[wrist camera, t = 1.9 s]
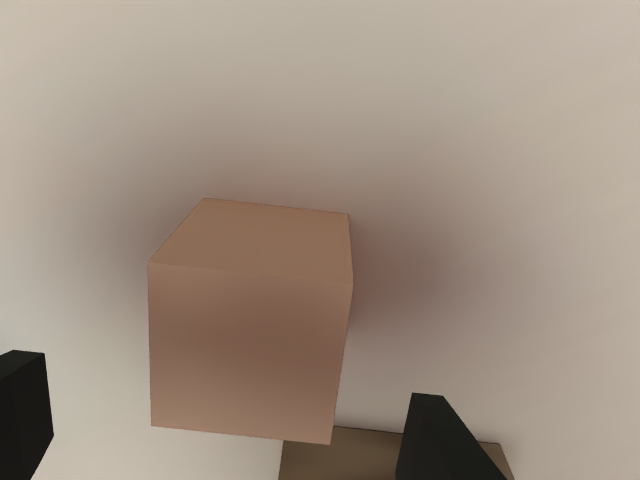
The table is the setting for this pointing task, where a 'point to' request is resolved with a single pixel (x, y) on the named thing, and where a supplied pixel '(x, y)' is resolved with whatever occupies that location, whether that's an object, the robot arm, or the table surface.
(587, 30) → the table surface
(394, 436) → the olive block
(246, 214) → the light tan block
